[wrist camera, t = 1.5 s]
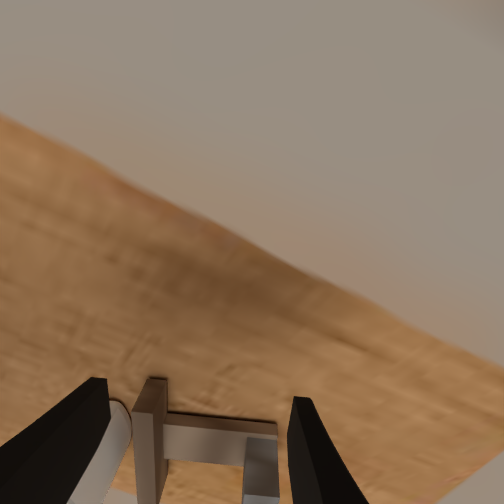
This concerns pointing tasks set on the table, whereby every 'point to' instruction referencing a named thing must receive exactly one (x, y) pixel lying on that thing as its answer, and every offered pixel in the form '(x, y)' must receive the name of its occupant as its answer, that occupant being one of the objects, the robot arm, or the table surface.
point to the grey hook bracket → (200, 447)
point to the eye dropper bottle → (105, 459)
